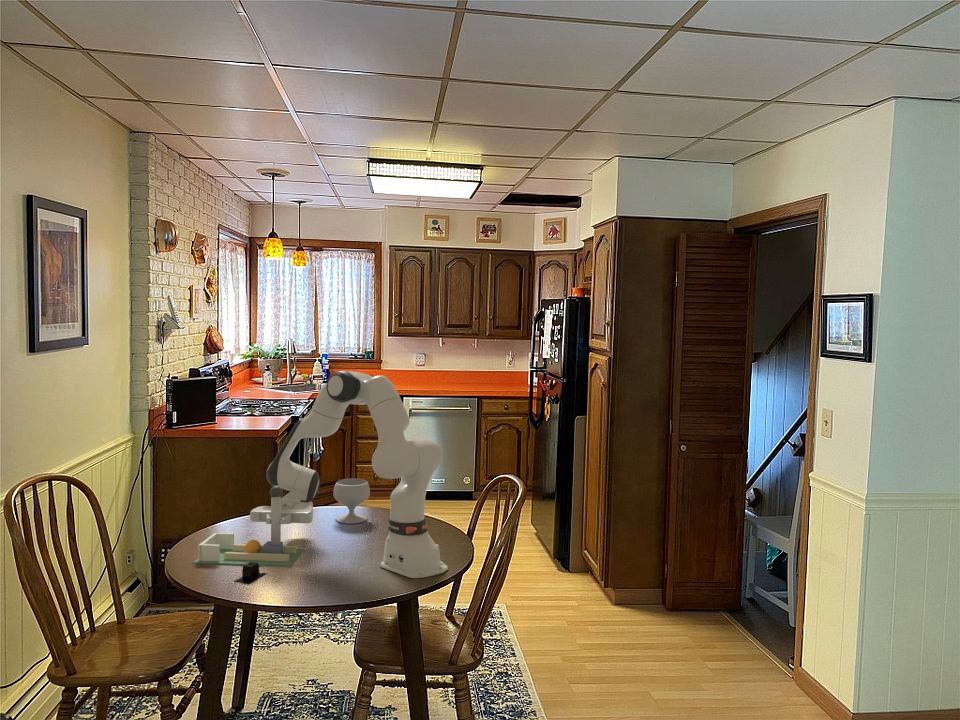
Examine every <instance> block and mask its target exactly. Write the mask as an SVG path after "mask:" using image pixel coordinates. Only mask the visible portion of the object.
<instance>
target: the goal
mask: <svg viewBox="0 0 960 720" xmlns="http://www.w3.org/2000/svg"><path fill="white" fill-rule="evenodd" d="M245 545H246V543H245V544H243V543H242V544H241V543H240V544H239V543H238V544H236V543H235V533H233V532H214V533H213V534H211V535H210V536H208V538H206V539H204V540H203V541H201V542H200V543H199V544H198V547H197V548H198V551H197V552H198V553H197V554H198V558H197V559H198V561H220V549H234V551H245ZM260 545H261V549H260V552H262V546H263V545H264V544H260ZM296 549H298V547H297V546H296V545H283V552H282V553H296ZM224 559H231V560H262V561H289V554H270V553H239V552H225V553H224Z"/></svg>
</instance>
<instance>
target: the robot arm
mask: <svg viewBox="0 0 960 720" xmlns="http://www.w3.org/2000/svg"><path fill="white" fill-rule="evenodd" d="M350 405H354V406H355V405H356V406H367V408H368V411H369V413H370V415H371V419H372V421H373V423H374V426H375V429H376V431H377V433H376V434H377V438H378V440H377V441H378V442H377V447H376V449H375V450H374V452H373V454H372V457H371V468H372V470H373V471H374V473H375V474H376V476H377V477H379V478H381V479H390V480H392V479H393V480H395V479H401V480H400V482H399V483H398V485H397V486H396V487H395V488H394V489H393V490H392V492H391V494H390V497H389V517H388V522H387V530H388V535H387V537H386V539H385V540H384V541H385V542H384V548H383V550H384V552H383V559H382V561H380V567H381V568H382V569H384V570H388V571H389V572H390V571H391V572H394V573H395V574H399V575H401V576H405V577H407V578H411V579H420V578H428V577H432V576H436V575H440V574H443V573H444V572H446V571H447V570H449V568H448V565H447V564H446V563H444V562H443V561H441V553H440V545H439V544H437V543H436V542H435V541H434V540H433V538H432V537H431V535H430V534H429V532H428V530H429V524H427V520H426V517H425V509H426V508H425V507H426V495H427V490H428V487H429V485H430V482H431V479H432V477H433V475H434V473H435V472H436V471H437V470H438V469H439V467H440V466H441V464H442V462H443V457H444V456H443V450H442V447H441V446H440V444H439V443H438V442H437V441H435V440H431V439H423V438H422V439H416V440H414V439H413V440H407V439H406V438H405V431H406V430H407V429H408V427H409V424H410V416H409V415H408V412H407V410H406V408H405V406H404V405H405V404H404V402H403V401H402V398H401V396H400V395H399V392H398V390H397V388H396V387H395V386H394V384H393V383H392V381H391V380H390V378H388V377H387V376H385V375H382V374H381V375H373V374H366V373H363V372H359V371H351V370H350V371H347V370H338V371H334V372H333V373H332V374H331V375H329V376H328V379H327V380H326V383H324V384H323V386H322V387H321V389H320V391H319V392H318V394H317V396H316V399H315V401H314V403H313V405H312V409H311V410H310V412H309V413H308V414H307V415H306V416H305V417H303V418H299V419H298V420H297V422H296V423H295V424H294V426H293V427H292V429H291V430H290V432H289V433H288V435H287V437H286V438H285V440H284V441H283V444H282V446H281V447H280V449H279V450H278V452H277V454H276V456H275V457H274V459H273V460H272V462H271V463H270V464H269V465H268V468H267V469H266V472H265V473H266V474H265V478H266V480H267V482H268V483H269V485H270V486H272V487H273V486H279V487H281V488H282V490H285V491H287V492H288V493H287V494H285V495H284V496H283V497H281V518H280V524H281V525H290V524H291V525H292V524H311V523H312V522H313V521H314V520H313V518H314V504H313V500H314V499H315V497H316V496H317V494H318V491H319V489H320V485H321V479H320V477H321V476H320V475H319V473H318V471H317V470H314V469H313V468H312V469H311V468H309V467H306V466H303V465H302V464H298V463H296V462H293V461H292V460H290V457H291V455H292V454H293V452H294V450H295V448H296V447H297V445H298V443H299V441H300V440H302V439H307V438H314V439H315V438H316V439H317V438H318V439H320V438H327V437H330V436H332V435H333V434H335V433H336V432H337V431H338V430H339V428H340V426H341V423H342V421H343V418H344V416H345V412H346V410H347V409H348V407H349V406H350ZM249 520H250V521H251V522H252V523H253V522H254V523H266V524H267V525H271V505H270V506H269V505H261V506H257V507H255V508H253V509H251V510H250V513H249Z"/></svg>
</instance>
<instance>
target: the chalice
mask: <svg viewBox="0 0 960 720" xmlns="http://www.w3.org/2000/svg"><path fill="white" fill-rule="evenodd" d="M332 492H333V493H332V494H333V497H334V499H335V500H336V502H338V503H340V504H341V505H344V506H346V508H347V509H348V514H344V515H339V516H337V517H336V518H335V521H336V522H338V523H341V524H352V525H353V524H360V523H364V522H366V521H367V520H368V517H367V516H365V515H362V514H356V513H355V509H356V507H357V506H360V505H361V504H362V503H364V502H366V501H367V500H368V499H369V498H370V495H371V490H370V485H369V482H368V481H367V480H366V479H363V478H356V477H355V478H341V479H339V480H337V481H336V483H335V484H334V488H333V491H332Z"/></svg>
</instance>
